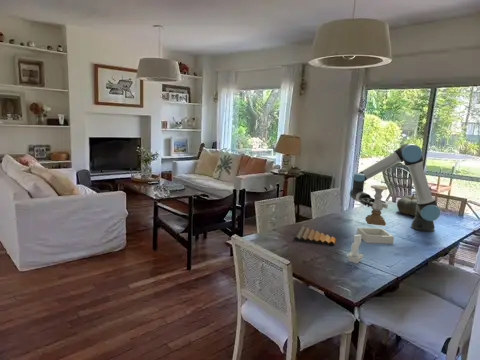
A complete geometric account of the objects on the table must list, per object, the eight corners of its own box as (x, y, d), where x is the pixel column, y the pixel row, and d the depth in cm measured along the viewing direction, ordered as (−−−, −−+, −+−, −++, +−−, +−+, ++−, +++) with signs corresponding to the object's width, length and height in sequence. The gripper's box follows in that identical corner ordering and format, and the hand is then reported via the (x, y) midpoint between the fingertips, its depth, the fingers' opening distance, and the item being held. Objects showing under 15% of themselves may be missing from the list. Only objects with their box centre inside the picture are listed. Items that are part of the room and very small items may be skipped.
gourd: (431, 210, 301) (431, 190, 296) (428, 221, 281) (428, 201, 276) (399, 208, 314) (399, 189, 310) (394, 218, 294) (394, 199, 290)
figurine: (344, 262, 190) (347, 235, 188) (351, 257, 197) (353, 231, 195) (358, 265, 186) (360, 238, 183) (364, 260, 193) (366, 234, 190)
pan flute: (299, 229, 245) (293, 241, 222) (299, 225, 244) (294, 236, 221) (336, 234, 237) (334, 246, 214) (336, 229, 237) (334, 241, 213)
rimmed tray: (381, 234, 239) (382, 228, 238) (392, 243, 222) (393, 236, 221) (356, 234, 238) (357, 227, 237) (366, 242, 221) (367, 236, 221)
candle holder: (385, 225, 222) (390, 188, 218) (367, 224, 224) (371, 187, 220) (382, 220, 233) (386, 185, 228) (365, 219, 235) (368, 184, 230)
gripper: (376, 203, 246) (395, 212, 223) (349, 203, 243) (366, 212, 221) (377, 193, 245) (396, 200, 222) (350, 192, 242) (367, 200, 219)
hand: (381, 206), depth 221 cm, fingers closed on candle holder, 7 cm apart
